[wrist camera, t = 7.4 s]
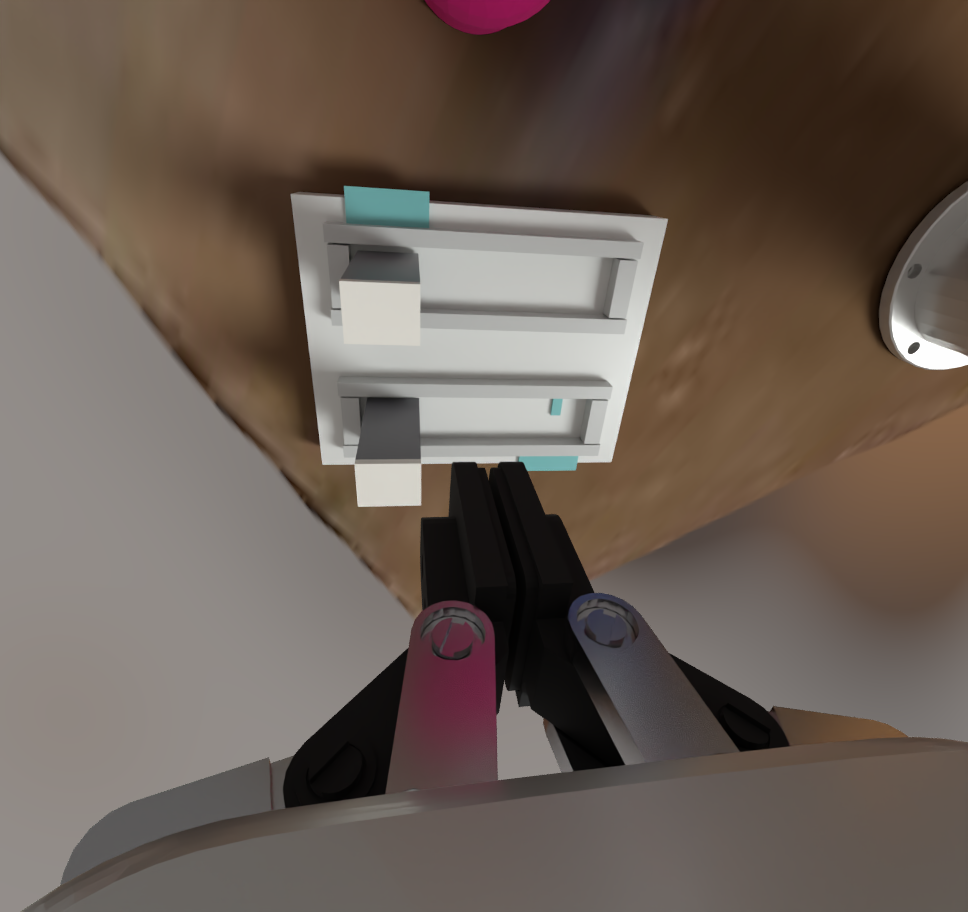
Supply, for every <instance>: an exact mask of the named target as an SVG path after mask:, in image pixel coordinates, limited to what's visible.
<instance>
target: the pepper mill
mask: <svg viewBox="0 0 968 912" xmlns="http://www.w3.org/2000/svg"><path fill="white" fill-rule="evenodd" d="M549 1H551V0H425V2H426V3H427V5H428V6H429V7H430V8H431V9H432V10H433V12H434V13H435V14H436V15H437V16H438V17H439V18H440V19H441V20H443V21H444V22H445V23H447V24H448V25H450V26H451V27H453V28H455V29H458V30H460V31H462V32H465V33H470V34H479V35H482V34H490V33H494V32H497V31H500V30H502V29H504V28H506V27H508V26H513V25H515V24H517V23H520V22H522V21H524V20H527V19H528V18H530V17H531V16H533V15H534V14H536V13H537V12H539V11H540V10H541V9H542V8H543V7H544V6H545V5H546V4H547V3H548V2H549Z"/></svg>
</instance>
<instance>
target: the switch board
mask: <svg viewBox="0 0 968 912" xmlns="http://www.w3.org/2000/svg"><path fill="white" fill-rule="evenodd" d="M291 202H292V210H293V219H294V227H295V236H296V244H297V253H298V261H299V270H300V278H301V287H302V295H303V304H304V312H305V320H306V329H307V337H308V346H309V354H310V363H311V371H312V380H313V388H314V397H315V405H316V414H317V422H318V431H319V439H320V447H321V456H322V464H323V465H334V464H355V459H356V454H357V449H358V443H359V438H360V433H361V427H362V422H363V417H364V412H365V406H366V401H367V397H374V398H419V412H420V445H421V464H449V463H453V462H476V463H499V462H523V463H524V465H525V467H526V469H527V471H552V470H576V466H577V462H612V457H613V453H614V449H615V444H616V440H617V436H618V432H619V427H620V423H621V419H622V414H623V410H624V406H625V402H626V397H627V393H628V389H629V384H630V380H631V376H632V372H633V367H634V363H635V359H636V354H637V350H638V346H639V341H640V337H641V333H642V329H643V324H644V320H645V316H646V311H647V307H648V303H649V299H650V294H651V290H652V286H653V281H654V277H655V273H656V269H657V264H658V260H659V256H660V251H661V247H662V243H663V239H664V234H665V230H666V226H667V221H668V219H666V218H661V217H657V216H652V215H638V214H623V213H608V212H593V211H578V210H563V209H548V208H533V207H518V206H503V205H489V204H474V203H459V202H444V201H429V192H428V191H413V190H399V189H384V188H370V187H356V186H344V195H340V194H325V193H310V192H296V193H292V194H291ZM358 250H362V251H381V252H400V253H418V257H419V271H420V346H407V345H367V344H344V337H343V325H342V312H341V300H340V287H339V280H340V279H341V277H342V275H343V274H344V272H345V270H346V269H347V267H348V265H349V264H350V262H351V261H352V259H353V257H354V256H355V254H356V252H357V251H358Z"/></svg>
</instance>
